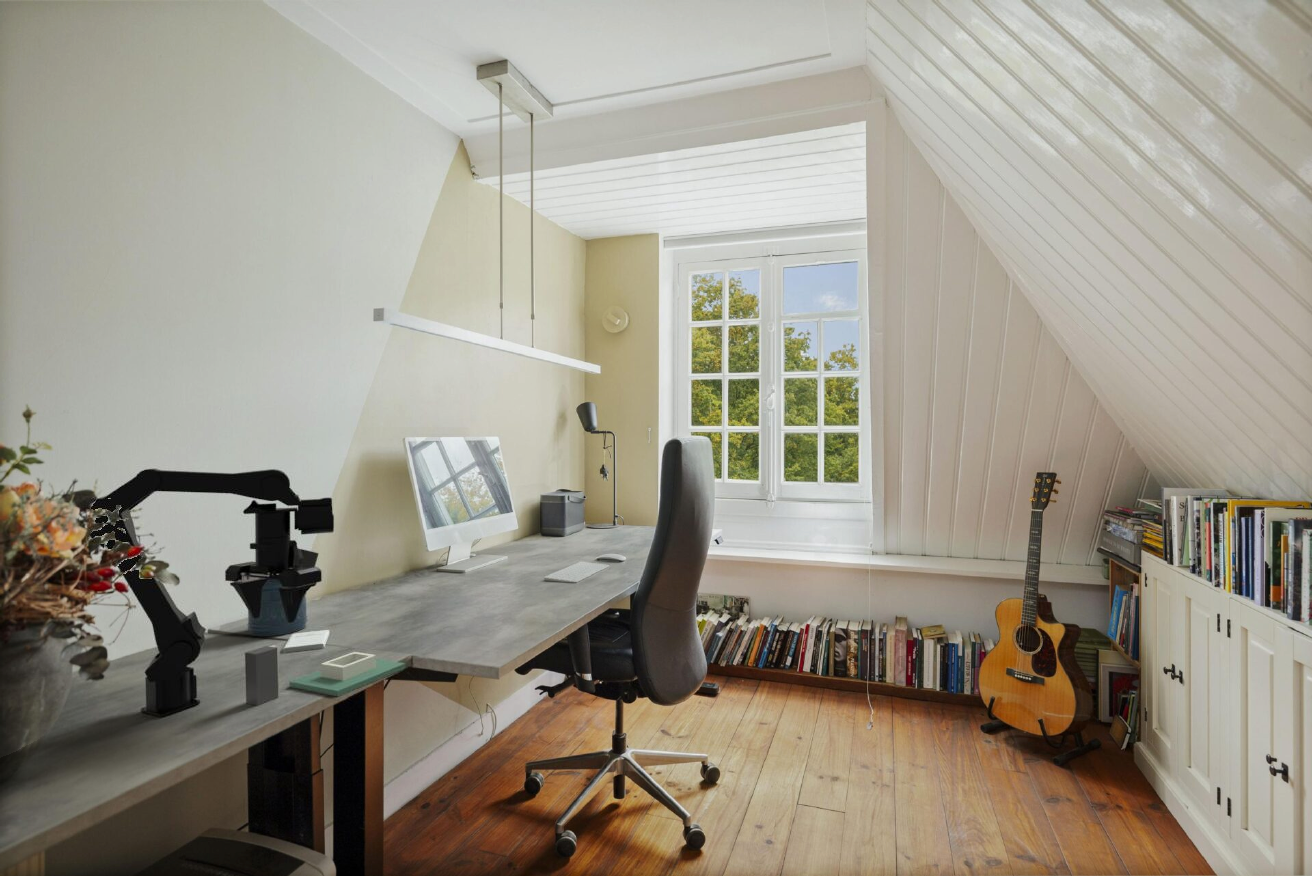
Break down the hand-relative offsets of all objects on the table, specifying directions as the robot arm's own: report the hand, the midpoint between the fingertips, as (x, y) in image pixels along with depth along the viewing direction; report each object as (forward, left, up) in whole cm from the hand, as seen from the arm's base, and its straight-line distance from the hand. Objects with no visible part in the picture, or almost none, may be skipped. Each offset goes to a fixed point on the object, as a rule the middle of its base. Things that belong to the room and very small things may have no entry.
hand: (273, 620), depth 126 cm
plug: (-4, -3, -13) cm, 14 cm away
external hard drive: (+23, +21, -14) cm, 34 cm away
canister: (+28, +38, -13) cm, 50 cm away
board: (+10, -8, -13) cm, 18 cm away
